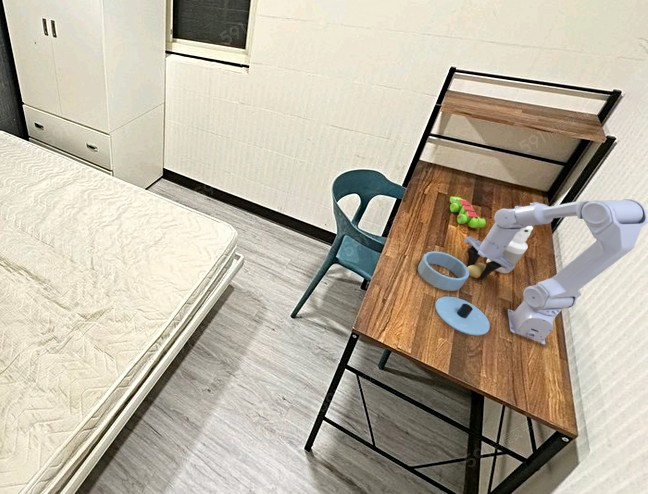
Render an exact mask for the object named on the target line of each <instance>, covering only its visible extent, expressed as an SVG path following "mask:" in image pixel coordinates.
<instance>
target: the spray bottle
mask: <svg viewBox="0 0 648 494" xmlns="http://www.w3.org/2000/svg"><path fill="white" fill-rule="evenodd" d="M533 230H534V226H528V227H526V228H522V229H521V230H520V231H519V232H517V234H516V235H515V236H514V238H513V239H512V241H511V242H510V243H509V245H508V246H507V248H506V249H505V250H504V252H503V253H502V255H503V256H504V257H505V258H506V259H507V260H508V261H509V262H510V263H512V264H513V265H514V266H515V267H516V265H517V263H518V262H519V260H520V259H521V258H522V257H523V255H524V254H525V252H526V251H527V250H528V248H529V246H528V243H527V241H528V239H529V237H530V236H531V233H532V231H533ZM491 261H493V260H491V259H489V258H487V259H486V264H487V263H488V262H491ZM494 272H497V273H500V274H509V273H510V272H507V271H506V270H505V268H503V267H500V268H498V269H496V270H494Z"/></svg>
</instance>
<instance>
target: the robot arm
mask: <svg viewBox="0 0 648 494" xmlns="http://www.w3.org/2000/svg"><path fill="white" fill-rule="evenodd" d="M568 217H577V218H578V219H579V220H583V221H584V223H585V225H586V226H587V228H588V230H589V232H590V234H591V235H592V237H593V238H594V239H595V240H596V241H595V242H593V243H592V244H591V245H590V246H588V247H587V248H586V249H585V250H583V252H581V253H579V254H578V256H576V257H575V258H574V259H573V260H571V261H570V262H569V263H568V264H567V265H565V266H564V267H563V268H562V269H561V270H559V271H558V272H557V273H555V274H554V275H553V276H552V277H550V278H547V279H544V280H542V281H541V280H540V281H538V282H537V283H536V284H534V285H529V286H526V287H525V288H524V290H523V293H522V295H523V301H521V303H520V304H519V306H518V307H517V308H515V310H512V309H509V308H508V309H507V315H508V323H509V330H510V332H512V333H513V334H517V335H519V336H521V337H524V338H527V339H529V340H532V341H535V342H536V343H539V344H541V345H546V339H547V337H548V336H549V335H550V334H551V333H553V331H554V320H555V319H556V317H557V316H558V315H559V314H560V313H561V312H562V311H563V310H564V309H571V308H573V307H575V305H576V304H577V300H578V299H579V297H581V296H582V293H581V288H583V287H584V286H586V285H587V284H589V283H590V282H592V280H594V279H596V278H597V277H598V276H599V275H600V274H602V273H603V272H605V271H606V270H607V269H609V268H610V267H611V266H613V265H614V264H615V263H617V262H618V261H619V260H621V259H622V258H623V257H625V256H626V255H627V254H629V253H630V252H631V251H632V250H633V249H634V248H635V246H636V243H637V241H638V238H639V236H640V233H641V230H642V228H643V227H644V226H646V225H647V224H648V213H647V209H646V207H645V206H644V204H642V203H641V202H640V201H638V200H635V199H631V198H630V199H629V198H626V199H625V198H624V199H617V200H616V199H601V200H600V199H599V200H597V199H596V200H595V199H594V200H593V199H592V200H577V201H571V202H567V203H561V204H556V205H551V206H549V205H547V204H545V203H540V202H530V203H529V205H525V206H522V205H515V206H514V208H501V209H498V210H496V211H495V213H494V216H493V219H494V224H493V225H492V227H491V228H490V230H489V231H488V233H487V235H486V236H485V237H484V239H483V240H482V241H480V240H479V239H476V238H475V237H473V236H471V235H469V236H466V238H465V239H464V241H463V242H464V243H465V244H469V245H470V247H469V248H467V250H466V251H467V258H468V259H467V264H466V267H468V266H470V265H473V264H476V263H477V261H479V259H480V257H481V258H487V259H488V258H489V259H491V260H493V261H491V262H488V263H487V262H486V264H485V265H486V267H485V269H484V271H483V272H482V274H481V275H480V277H479V278H481V279H483V278H487V276H488V275H490V274H491V273H492V272H495V270H496V269H498V268H500V267H503V268H505V270H506V271H507V272H509V273H511V272H512V271H514V269H515V268H516V265H515V266H514V265H513V264H512V263H510V262H509V261H508V260H507V259H506V258H505V257H504V256H503V255H502V253H503V252H504V250H505V249H506V248H507V246H508V245H509V243H510V242H511V241H512V239H513V238H514V236H515V235H516V234H517V232H519V231H520V230H521V229H522V228H526V227H528V226H532V227H534V226H542V225H548V224H551V223H552V222H553V221H554V219H561V218H568Z"/></svg>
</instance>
